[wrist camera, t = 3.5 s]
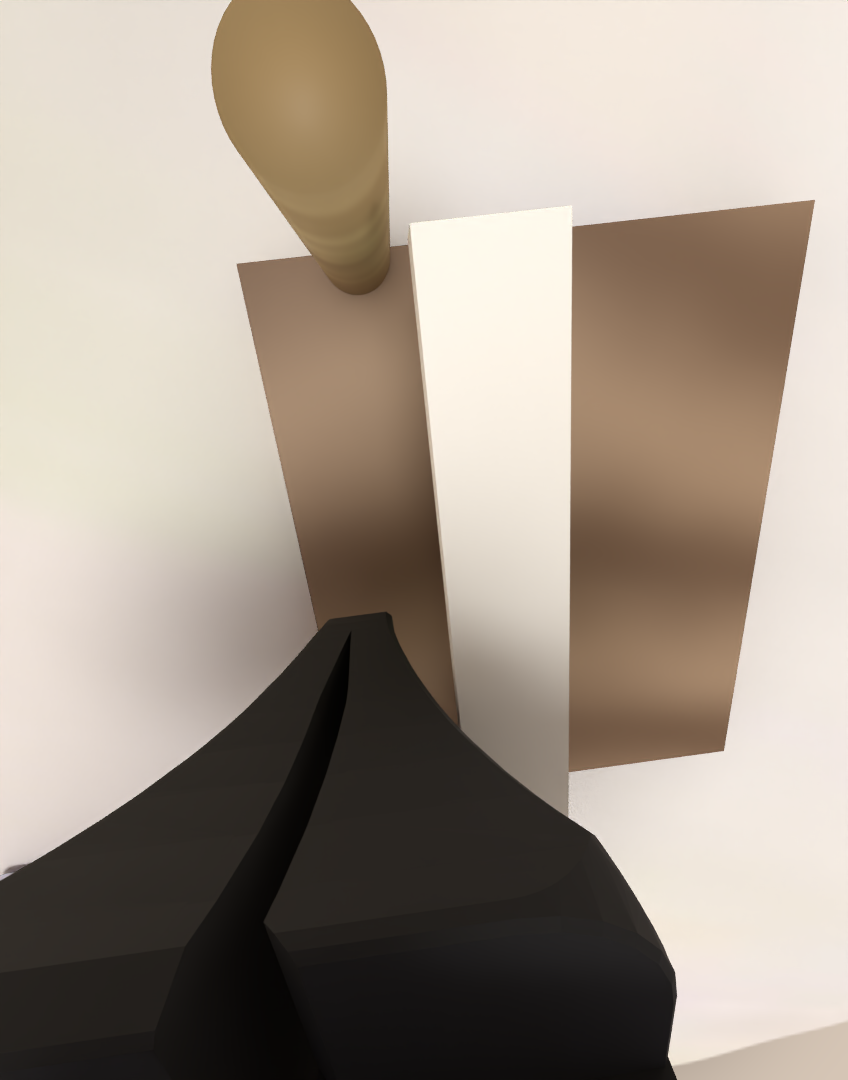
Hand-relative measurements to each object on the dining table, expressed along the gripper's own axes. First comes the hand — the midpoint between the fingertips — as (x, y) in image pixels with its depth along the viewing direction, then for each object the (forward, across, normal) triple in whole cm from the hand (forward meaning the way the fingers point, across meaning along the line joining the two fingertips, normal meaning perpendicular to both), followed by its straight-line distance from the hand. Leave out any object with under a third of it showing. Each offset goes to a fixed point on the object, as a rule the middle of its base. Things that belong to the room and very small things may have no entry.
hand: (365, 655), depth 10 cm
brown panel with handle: (+3, -5, -1) cm, 6 cm away
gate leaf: (+2, -3, -1) cm, 3 cm away
